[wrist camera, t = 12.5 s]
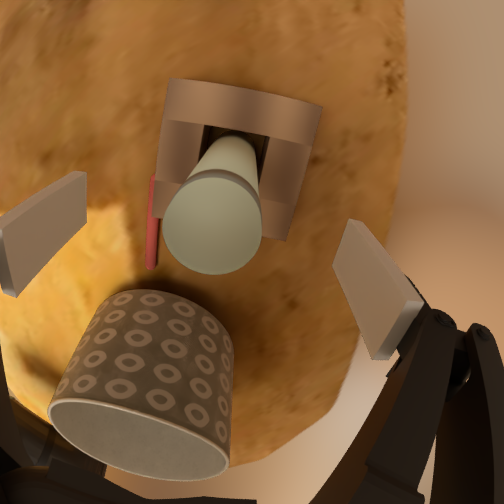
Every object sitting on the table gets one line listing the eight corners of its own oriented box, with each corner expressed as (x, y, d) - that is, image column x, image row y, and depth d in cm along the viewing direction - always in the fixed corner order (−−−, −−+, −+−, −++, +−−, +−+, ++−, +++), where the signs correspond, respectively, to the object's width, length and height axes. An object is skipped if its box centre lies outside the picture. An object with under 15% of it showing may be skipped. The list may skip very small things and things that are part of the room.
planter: (242, 284, 35) (238, 426, 19) (229, 381, 44) (223, 488, 29) (90, 264, 34) (18, 375, 18) (113, 363, 43) (80, 459, 27)
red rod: (156, 267, 34) (153, 272, 33) (146, 265, 34) (144, 270, 33) (164, 173, 29) (161, 176, 28) (153, 171, 29) (149, 174, 27)
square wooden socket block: (165, 197, 30) (151, 216, 26) (183, 80, 24) (169, 77, 20) (280, 218, 31) (285, 241, 27) (310, 104, 25) (322, 106, 21)
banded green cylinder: (208, 166, 28) (158, 266, 13) (216, 125, 26) (166, 174, 11) (250, 174, 29) (251, 283, 13) (259, 133, 27) (274, 193, 11)
